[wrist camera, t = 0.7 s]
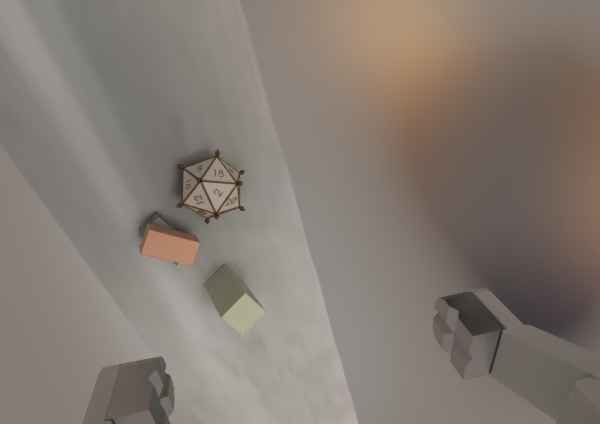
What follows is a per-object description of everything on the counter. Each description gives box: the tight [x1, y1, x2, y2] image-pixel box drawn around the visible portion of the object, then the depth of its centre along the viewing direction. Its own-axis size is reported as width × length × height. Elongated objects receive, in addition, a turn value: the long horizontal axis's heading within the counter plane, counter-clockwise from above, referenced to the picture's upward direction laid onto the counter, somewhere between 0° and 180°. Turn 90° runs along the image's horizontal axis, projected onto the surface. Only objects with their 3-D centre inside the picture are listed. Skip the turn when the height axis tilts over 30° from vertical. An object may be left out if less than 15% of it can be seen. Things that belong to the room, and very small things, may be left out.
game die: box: [176, 149, 245, 224], centre depth 45 cm, size 9×8×10 cm
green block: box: [204, 264, 266, 335], centre depth 49 cm, size 4×4×10 cm
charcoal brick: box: [139, 212, 178, 265], centre depth 47 cm, size 6×3×3 cm, turn 39°
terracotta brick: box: [140, 223, 200, 266], centre depth 44 cm, size 6×3×3 cm, turn 66°
